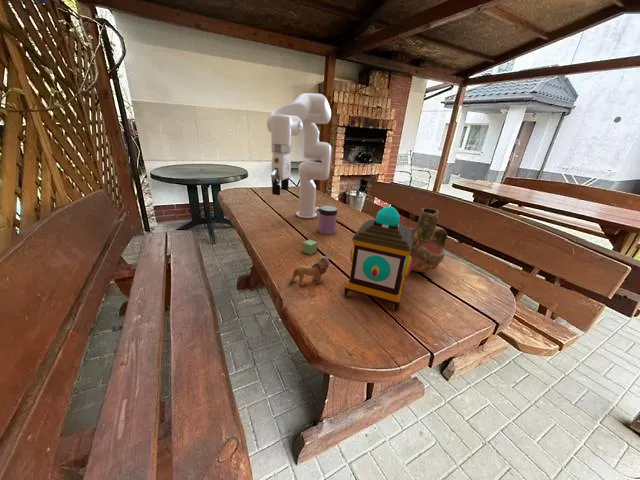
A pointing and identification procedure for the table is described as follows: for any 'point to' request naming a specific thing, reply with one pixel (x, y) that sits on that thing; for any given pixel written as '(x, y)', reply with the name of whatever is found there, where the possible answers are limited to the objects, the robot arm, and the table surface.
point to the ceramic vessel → (427, 242)
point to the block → (309, 247)
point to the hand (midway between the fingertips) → (280, 192)
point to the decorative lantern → (381, 257)
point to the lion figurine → (311, 270)
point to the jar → (327, 224)
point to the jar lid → (328, 210)
